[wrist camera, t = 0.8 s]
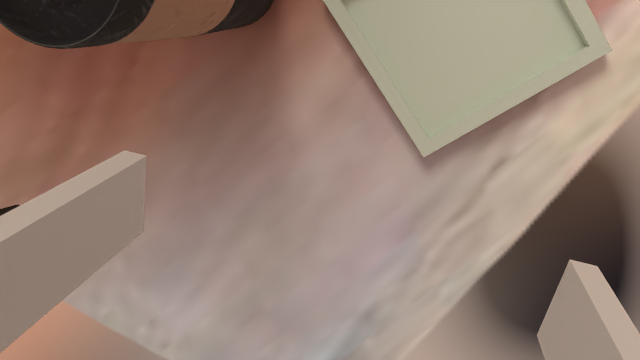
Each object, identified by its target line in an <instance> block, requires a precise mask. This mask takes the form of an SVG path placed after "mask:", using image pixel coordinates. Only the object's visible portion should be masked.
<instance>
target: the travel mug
mask: <svg viewBox="0 0 640 360" xmlns="http://www.w3.org/2000/svg"><path fill="white" fill-rule="evenodd" d="M272 3H273V0H0V23H1V24H2V25H3V26H4V27H6V28H7V29H8V30H10V31H11V32H12V33H14V34H15V35H17V36H19V37H21V38H22V39H24V40H26V41H29V42H31V43H33V44H36V45H40V46H44V47H49V48H57V49H66V48H81V47H91V46H100V45H111V44H121V43H131V42H141V41H151V40H161V39H172V38H182V37H191V36H197V35H202V34H207V33H212V32H218V31H223V30H228V29H233V28H238V27H242V26H246V25H249V24H251V23H253V22H255V21H257V20H258V19H260V18H261V17H262V16H263V15H264V14H265V13H266V12H267V11H268V9H269V8H270V6H271V4H272Z"/></svg>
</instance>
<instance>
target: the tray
mask: <svg viewBox="0 0 640 360" xmlns="http://www.w3.org/2000/svg"><path fill="white" fill-rule="evenodd" d="M323 1H324V3H325V4H326V6H327V7H328V9H329V10H330V12H331V14H332V15H333V17H334V18H335V20H336V21H337V23H338V25H339V26H340V28H341V29H342V31H343V32H344V34H345V36H346V37H347V39H348V40H349V42H350V43H351V45H352V46H353V48H354V50H355V51H356V53H357V54H358V56H359V57H360V59H361V61H362V62H363V64H364V65H365V67H366V68H367V70H368V71H369V73H370V75H371V76H372V78H373V79H374V81H375V82H376V84H377V86H378V87H379V89H380V90H381V92H382V93H383V95H384V97H385V98H386V100H387V101H388V103H389V104H390V106H391V107H392V109H393V111H394V112H395V114H396V115H397V117H398V118H399V120H400V122H401V123H402V125H403V126H404V128H405V129H406V131H407V132H408V134H409V136H410V137H411V139H412V140H413V142H414V143H415V145H416V147H417V148H418V150H419V151H420V153H421V154H422V156H423V158H424V157H426V156H427V155H429V154H431V153H433V152H435V151H436V150H438V149H440V148H442V147H443V146H445V145H447V144H449V143H450V142H452V141H454V140H456V139H457V138H459V137H461V136H463V135H464V134H466V133H468V132H470V131H471V130H473V129H475V128H477V127H478V126H480V125H482V124H484V123H486V122H487V121H489V120H491V119H493V118H494V117H496V116H498V115H500V114H501V113H503V112H505V111H507V110H508V109H510V108H512V107H514V106H515V105H517V104H519V103H521V102H522V101H524V100H526V99H528V98H529V97H531V96H533V95H535V94H537V93H538V92H540V91H542V90H544V89H545V88H547V87H549V86H551V85H552V84H554V83H556V82H558V81H559V80H561V79H563V78H565V77H566V76H568V75H570V74H572V73H573V72H575V71H577V70H579V69H581V68H582V67H584V66H586V65H588V64H589V63H591V62H593V61H595V60H596V59H598V58H600V57H602V56H603V55H605V54H607V53H609V52H610V51H612V49H611V47H610V45H609V43H608V41H607V40H606V38H605V36H604V34H603V32H602V30H601V29H600V27H599V25H598V23H597V21H596V19H595V18H594V16H593V14H592V12H591V10H590V8H589V7H588V5H587V3H586V1H585V0H323Z"/></svg>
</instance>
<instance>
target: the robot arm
mask: <svg viewBox="0 0 640 360" xmlns="http://www.w3.org/2000/svg"><path fill="white" fill-rule="evenodd" d="M146 161H147V156H146V155H142V154H138V153H134V152H130V151H125V150H124V151H122V152H120V153H118V154H117V155H115V156H113V157H111V158H109V159H107V160H105V161H103V162H101V163H100V164H98V165H96V166H94V167H92V168H90V169H88V170H86V171H84V172H83V173H81V174H79V175H77V176H75V177H73V178H71V179H69V180H67V181H66V182H64V183H62V184H60V185H58V186H56V187H54V188H52V189H50V190H49V191H47V192H45V193H43V194H41V195H39V196H37V197H35V198H33V199H32V200H30V201H28V202H26V203H24V204H22V205H14V206H10V207H6V208H3V209H0V353H1V352H2V351H3V350H4V349H5V348H7V347H8V346H9V345H10V344H11V343H13V342H14V341H15V340H16V339H17V338H18V337H19V336H21V335H22V334H23V333H24V332H25V331H27V330H28V329H29V328H30V327H31V326H33V325H34V324H35V323H36V322H37V321H38V320H39V319H41V318H42V317H43V316H44V315H45V314H47V313H48V312H49V311H50V310H51V309H52V308H54V307H55V306H56V305H57V304H58V303H60V302H61V301H62V300H63V299H64V298H65V297H67V296H68V295H69V294H70V293H71V292H72V291H74V290H75V289H76V288H77V287H78V286H80V285H81V284H82V283H83V282H84V281H85V280H87V279H88V278H89V277H90V276H91V275H92V274H94V273H95V272H96V271H97V270H98V269H100V268H101V267H102V266H103V265H104V264H105V263H107V262H108V261H109V260H110V259H111V258H112V257H114V256H115V255H116V254H117V253H118V252H120V251H121V250H122V249H123V248H124V247H125V246H127V245H128V244H129V243H130V242H131V241H132V240H134V239H135V238H136V237H137V236H138V235H140V234H141V233H142V232H143V231H144V210H145V185H146ZM537 337H538V340H539V343H540V346H541V349H542V352H543V355H544V358H545V360H640V334H639V332H638V331H637V329H636V328H635V326H634V325H633V323H632V321H631V320H630V318H629V317H628V315H627V314H626V312H625V310H624V308H623V307H622V305H621V304H620V302H619V300H618V299H617V297H616V296H615V294H614V292H613V291H612V289H611V287H610V286H609V284H608V283H607V281H606V280H605V278H604V276H603V275H602V273H601V271H600V270H599V268H598V267H597V266H593V265H590V264H585V263H582V262H577V261H574V260H569V263H568V265H567V267H566V270H565V272H564V274H563V277H562V279H561V281H560V283H559V286H558V288H557V290H556V293H555V295H554V297H553V300H552V302H551V304H550V307H549V309H548V311H547V313H546V316H545V318H544V320H543V323H542V325H541V327H540V330H539V332H538V334H537Z"/></svg>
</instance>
